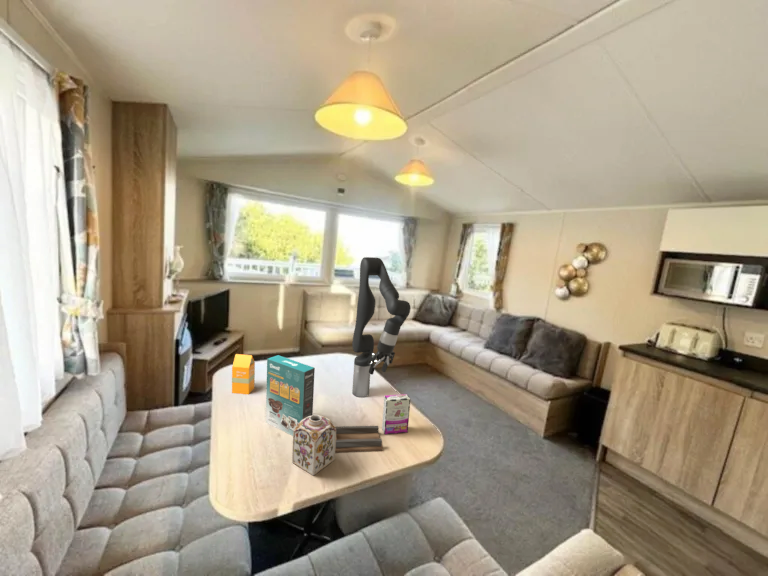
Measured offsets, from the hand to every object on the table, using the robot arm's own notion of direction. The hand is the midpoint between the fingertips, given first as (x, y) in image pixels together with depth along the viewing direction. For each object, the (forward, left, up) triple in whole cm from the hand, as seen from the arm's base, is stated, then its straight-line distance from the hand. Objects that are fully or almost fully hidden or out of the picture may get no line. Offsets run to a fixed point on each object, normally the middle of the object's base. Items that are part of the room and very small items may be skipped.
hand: (377, 372), depth 157 cm
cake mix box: (+5, -39, -24) cm, 46 cm away
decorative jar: (+28, -27, -24) cm, 46 cm away
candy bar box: (+9, +8, -24) cm, 27 cm away
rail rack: (+16, -10, -24) cm, 30 cm away
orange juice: (-31, -66, -24) cm, 76 cm away
